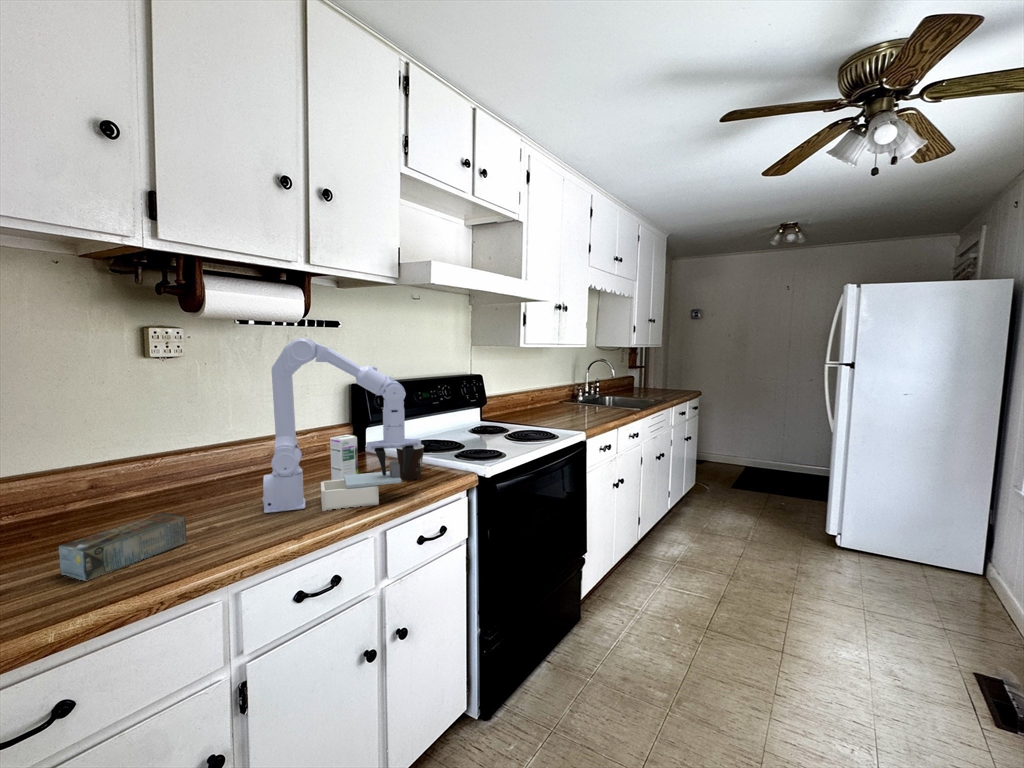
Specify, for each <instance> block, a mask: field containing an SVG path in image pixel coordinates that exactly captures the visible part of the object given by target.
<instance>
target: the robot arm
mask: <svg viewBox="0 0 1024 768" xmlns="http://www.w3.org/2000/svg"><path fill="white" fill-rule="evenodd" d="M314 359H315V361H314V362H315V363H327V364H330V365H332V366H334V367H335V368H338V369H339V370H341V371H343V372H345V373H347V374H349V375H350V376H353V377H355V381H356V383H357V385H359V386H360V387H362V388H364V389H365V390H367V391H369V392H371V393H372V394H375V395H376V396H382V398H383V408H382V424H383V425H382V427H383V428H382V434H383V437H382V438H383V439H381V440H374V441H366V450H367V451H372V450H373V451H374V452H375V455H376V456H377V458H378V462H379V465H380V468H381V472H382V474H383V476H384V475H386V472H387V469H386V468H387V467H386V454H387V453H386V451H385V450H386V449H396V448H399V447H402V449H403V473H404V474H406V473H407V468H408V464H409V461H410V459H411V456H412V454H413V452H414V448H413V446H417V447H420V446H421V445H422V440H421V438H405V435H406V434H405V429H406V428H405V407H404V406H405V405H404V404H405V401H404V400H405V397H406V396H407V393H406V390H405V388H404V386H403V385H402V384H401V383H400V382H398V381H397V380H396V379H395V380H394V378H393V377H392V376H390V375H389V376H387V375H386V374H384V373H382V372H380V371H378V367H376V366H374V365H373V366H370V365H365V366H361V365H358V364H357V363H356V362H354V361H352V360H351V359H349V358H347V357H345V356H343V355H342V354H341V353H339V352H337V351H336V350H334V349H332V348H331V347H329V346H326V345H323V344H320V343H319V342H314V341H313V340H312V339H310V338H304V337H299V338H296V339H294V340H292V341H290V342H289V343H288V344H287V345H285V346H284V348H283V349H282V351H281V353H280V354H279V356H278V357H277V359H276V360H275V362H274V363H273V365H272V367H271V383H272V384H271V385H272V401H273V415H274V430H275V432H274V433H275V440H274V441H275V442H274V455H273V457H272V458H271V460H270V461H271V462H270V464H271V465H270V466H271V468H272V472H271V473H269V474H265V475H263V482H262V483H263V484H262V487H263V488H262V489H263V490H262V491H263V492H262V493H263V497H262V504H263V513H264V514H268V513H269V514H270V513H278V512H286V511H297V510H303V509H305V508H306V498H304V478H303V477H304V476H303V475H304V474H303V468H301V466H300V465H299V464H300V462H301V460H302V458H303V453H302V450H301V449H300V447H299V444H298V438H297V433H296V432H297V431H296V416H295V402H294V401H295V400H294V383H293V382H294V381H293V380H294V379H293V375H294V373H295V374H296V372H297V371H298V370H299V369H300V368H301V367H302V366H303V365H306V364H307V363H309V362H311V361H313V360H314Z"/></svg>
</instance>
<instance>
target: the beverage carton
mask: <svg viewBox="0 0 1024 768" xmlns="http://www.w3.org/2000/svg"><path fill="white" fill-rule="evenodd" d="M186 523H187V522H186V516H185V515H183V514H181V515H179V514H175V513H167V512H162V511H161V512H160V513H156V514H155V513H154V514H151V515H149V516H147V517H144V518H141V519H138V520H134V521H131V522H128V523H126V524H123V525H120V526H116V527H114V528H111V529H108V530H103V531H101V532H98V533H95V534H92V535H89V536H86V537H82V538H80V539H77V540H72V541H69V542H66V543H63V544H60V545H58V554H59V568H60V570H61V576H62V575H67V576H70V577H73V578H76V579H79V580H78V581H80V580H84V581H86V580H89V579H92V578H95V577H97V576H99V575H102V574H105V573H108V572H110V571H113V570H116V569H119V568H121V569H123V568H122V567H124V566H126V567H128V566H127V565H129V566H131V565H134V564H136V563H139V562H141V560H142V561H143V559H144V560H145V559H146V558H147V559H148V558H151V557H154V556H156V555H159V554H161V553H165V552H167V551H170V550H171V549H174V547H175V548H176V547H179V546H182V545H184V544H187V543H188V539H187V538H188V536H187V524H186ZM153 555H154V556H153ZM147 559H146V560H147ZM138 561H139V562H138ZM135 562H136V563H135ZM133 563H134V564H133ZM130 564H131V565H130ZM124 568H125V567H124ZM119 570H120V569H119ZM116 571H117V570H116ZM113 572H114V571H113ZM108 574H109V573H108ZM105 575H106V574H105ZM70 577H69V578H70ZM73 578H72V579H73ZM97 578H98V577H97ZM76 579H75V580H76ZM95 579H96V578H95ZM92 580H93V579H92Z"/></svg>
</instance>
